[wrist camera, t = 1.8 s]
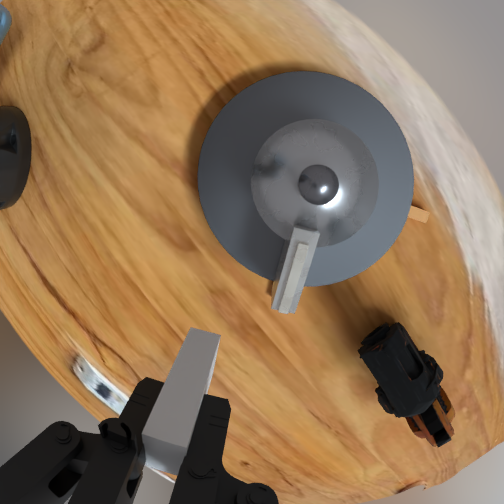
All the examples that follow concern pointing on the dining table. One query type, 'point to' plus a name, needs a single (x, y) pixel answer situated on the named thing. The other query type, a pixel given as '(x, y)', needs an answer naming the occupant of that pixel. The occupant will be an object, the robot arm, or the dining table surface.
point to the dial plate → (256, 134)
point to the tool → (409, 383)
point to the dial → (311, 196)
